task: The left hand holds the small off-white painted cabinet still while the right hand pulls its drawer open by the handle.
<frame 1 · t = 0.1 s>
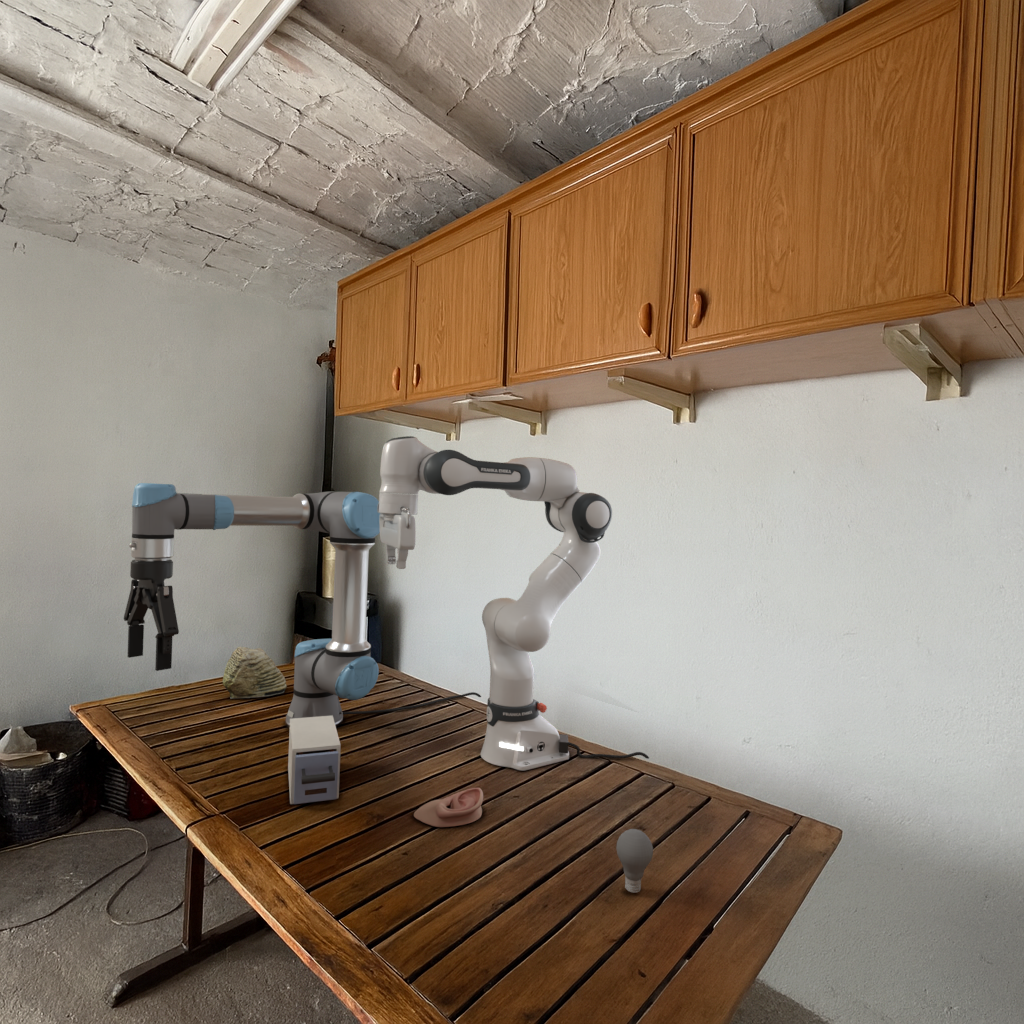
left hand: (148, 662, 129), 28 cm above the table, tool pointing down, fingers open, 13 cm apart
right hand: (395, 566, 146), 48 cm above the table, tool pointing down, fingers open, 8 cm apart
drawer: (314, 766, 135), point 6 cm above the table, slide at 0.9 cm
cabinet: (312, 782, 140), on the table
anatomical model: (448, 814, 129), on the table
fossil: (254, 694, 198), on the table
light bulb: (632, 891, 106), on the table
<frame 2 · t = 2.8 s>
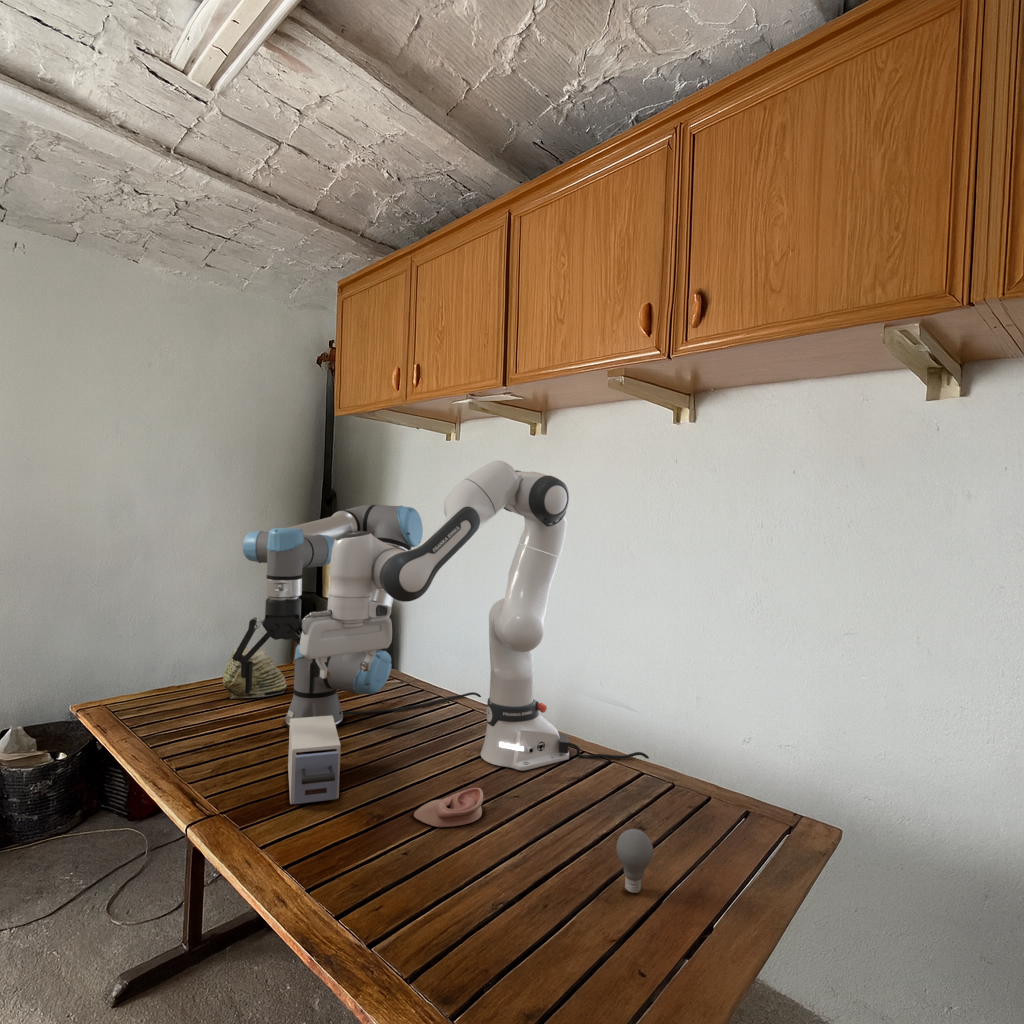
left hand: (280, 691, 142), 19 cm above the table, tool pointing down, fingers open, 13 cm apart
right hand: (345, 674, 133), 26 cm above the table, tool pointing down, fingers open, 8 cm apart
nothing on the table moved.
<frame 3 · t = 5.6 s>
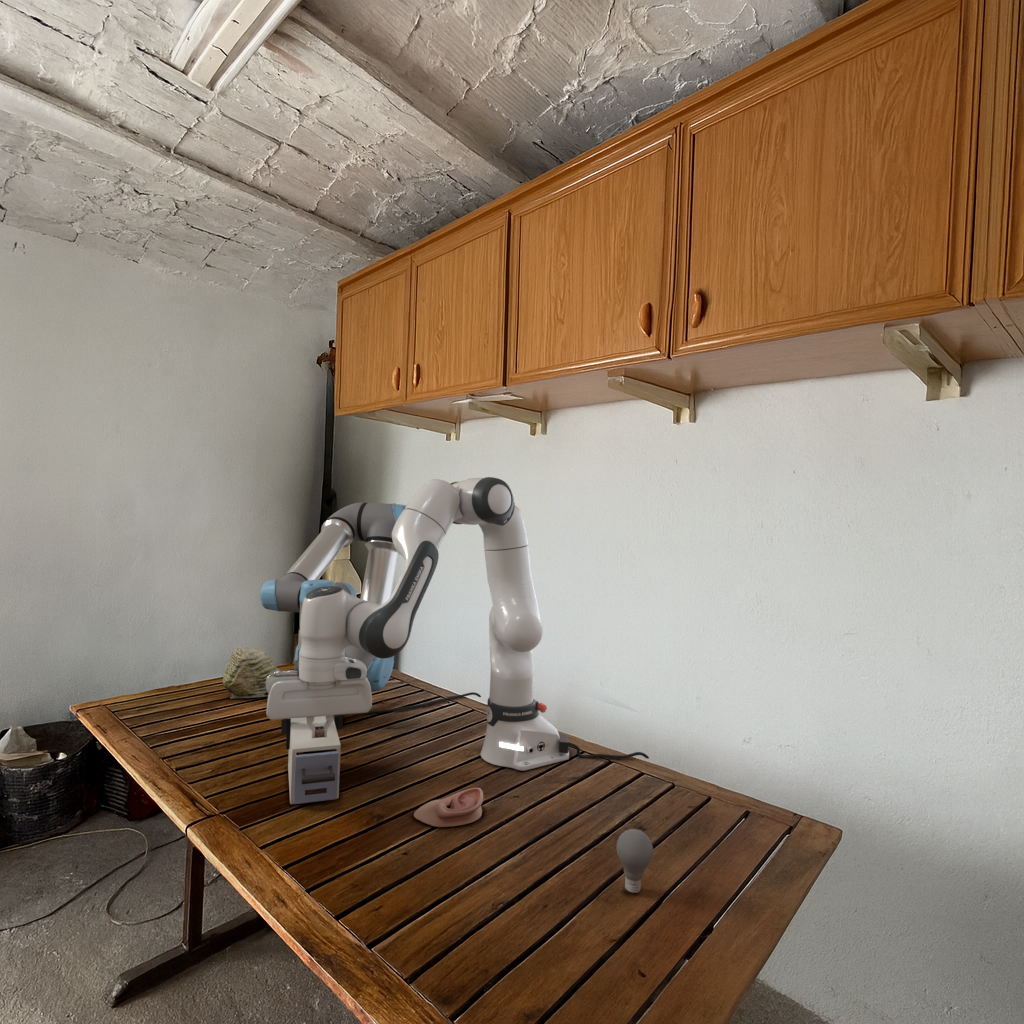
left hand: (311, 744, 145), 6 cm above the table, tool pointing down, fingers closed on cabinet, 10 cm apart
right hand: (319, 736, 127), 15 cm above the table, tool pointing down, fingers closed
cabinet: (312, 782, 140), on the table, touching left hand
everything else where it was.
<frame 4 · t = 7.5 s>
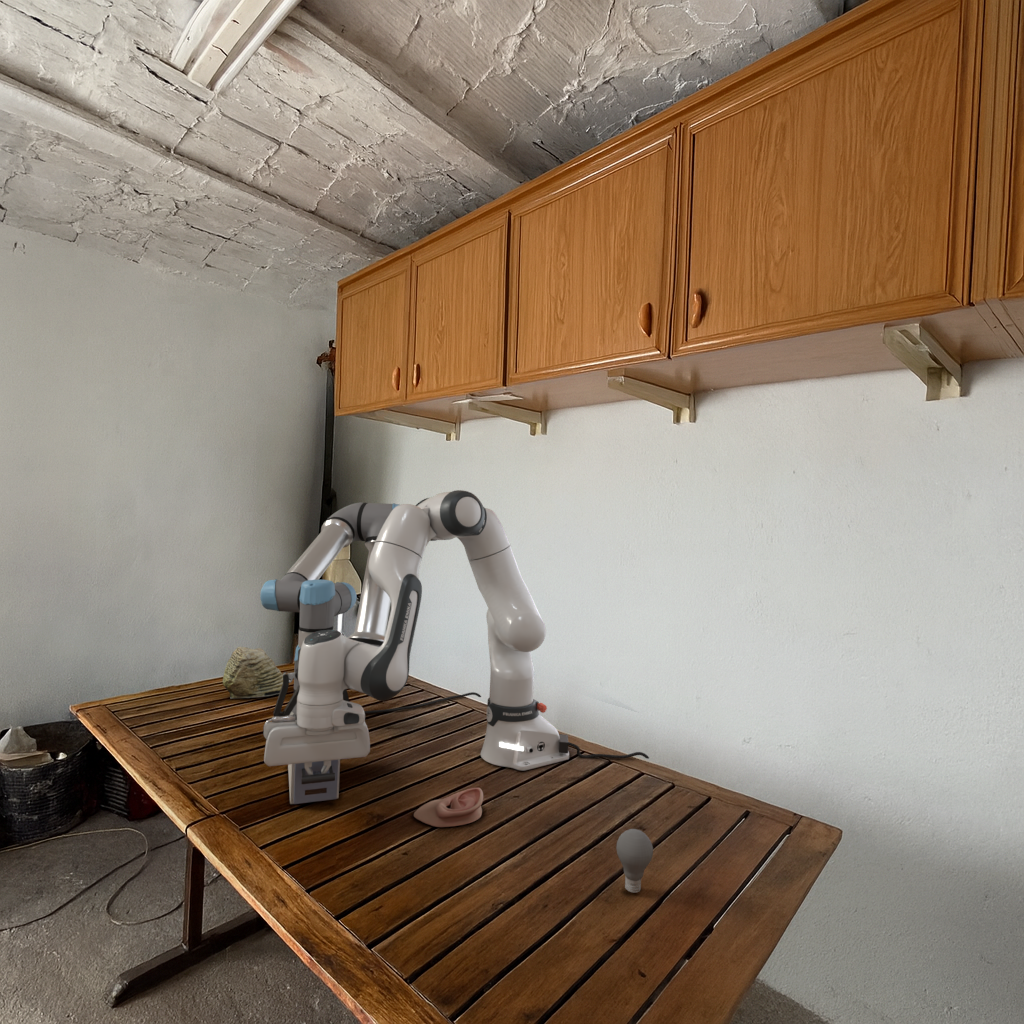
left hand: (311, 744, 145), 6 cm above the table, tool pointing down, fingers closed on cabinet, 10 cm apart
right hand: (316, 781, 127), 6 cm above the table, tool pointing down, fingers closed, pressing on drawer
drawer: (314, 766, 135), point 6 cm above the table, slide at 0.9 cm, touching right hand
cabinet: (312, 782, 140), on the table, touching left hand
everything else where it was.
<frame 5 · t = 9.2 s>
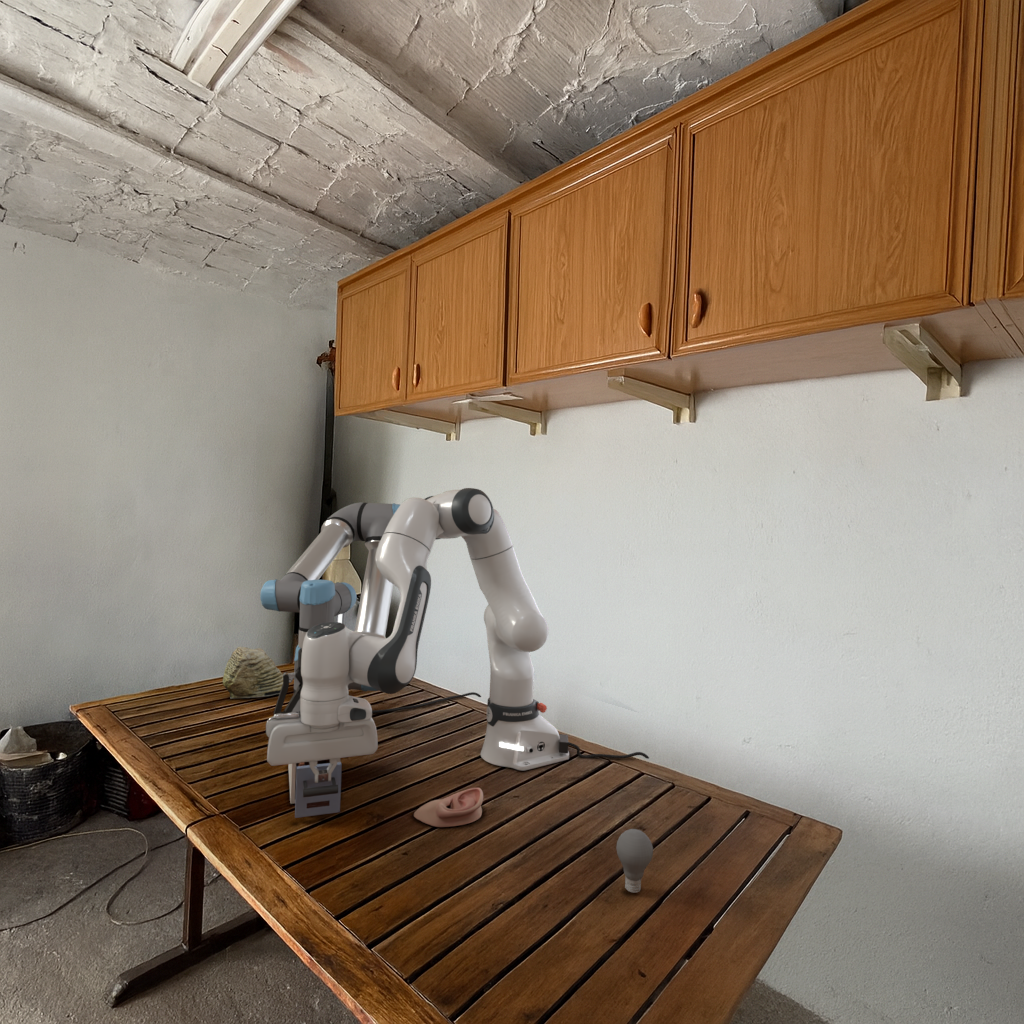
left hand: (311, 745, 145), 6 cm above the table, tool pointing down, fingers closed on cabinet, 10 cm apart
right hand: (322, 781, 121), 9 cm above the table, tool pointing down, fingers closed
drawer: (316, 778, 130), point 6 cm above the table, slide at 6.9 cm
cabinet: (312, 782, 140), on the table, touching left hand
everything else where it was.
when the left hand's fingers open (6 cm above the table, at t = 10.7 s): cabinet stays where it is, on the table.
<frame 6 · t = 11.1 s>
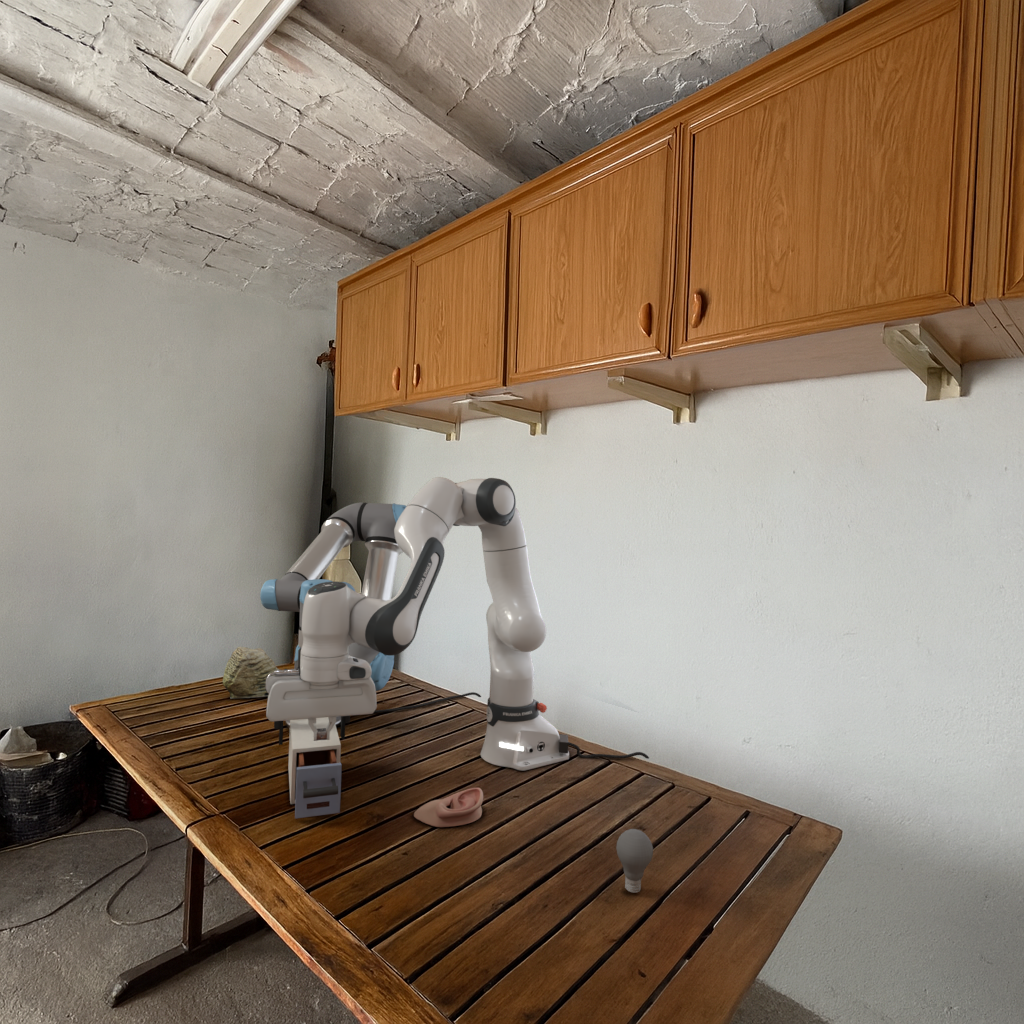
left hand: (312, 739, 145), 7 cm above the table, tool pointing down, fingers open, 13 cm apart
right hand: (321, 739, 121), 17 cm above the table, tool pointing down, fingers closed
cabinet: (312, 782, 140), on the table
everything else where it was.
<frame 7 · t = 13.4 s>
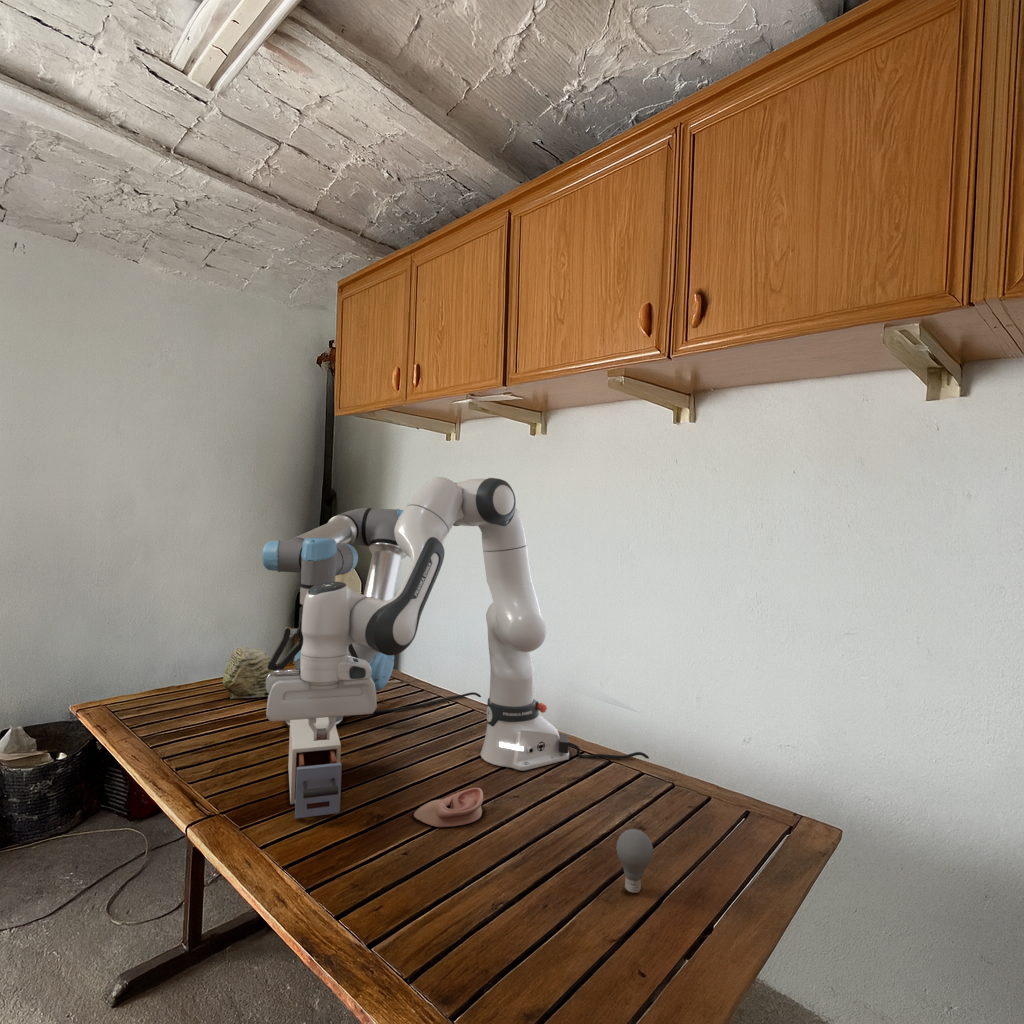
left hand: (313, 697, 145), 17 cm above the table, tool pointing down, fingers open, 13 cm apart
right hand: (321, 739, 121), 17 cm above the table, tool pointing down, fingers closed
nothing on the table moved.
at the end: drawer slide at 6.9 cm; cabinet tilted 0°; cabinet never tilted more than 1° during the clip; cabinet moved 0.1 cm from its start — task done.
